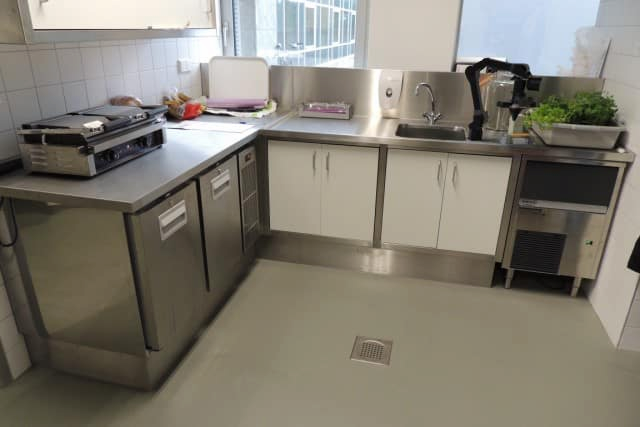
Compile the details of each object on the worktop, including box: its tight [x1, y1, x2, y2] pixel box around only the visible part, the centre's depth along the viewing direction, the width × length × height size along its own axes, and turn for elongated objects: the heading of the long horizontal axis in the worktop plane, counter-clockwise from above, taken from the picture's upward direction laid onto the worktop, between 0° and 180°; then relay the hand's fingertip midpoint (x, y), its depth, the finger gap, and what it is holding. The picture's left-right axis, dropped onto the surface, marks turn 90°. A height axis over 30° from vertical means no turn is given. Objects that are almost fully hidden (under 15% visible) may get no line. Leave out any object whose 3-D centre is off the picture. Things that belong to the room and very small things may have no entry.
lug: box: [527, 134, 535, 144], centre depth 241 cm, size 2×3×5 cm
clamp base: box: [497, 131, 538, 148], centre depth 244 cm, size 16×11×6 cm
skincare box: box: [507, 113, 526, 134], centre depth 259 cm, size 6×4×12 cm
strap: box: [503, 133, 531, 138], centre depth 243 cm, size 14×3×1 cm, turn 98°
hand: (513, 121), depth 238 cm, fingers closed
